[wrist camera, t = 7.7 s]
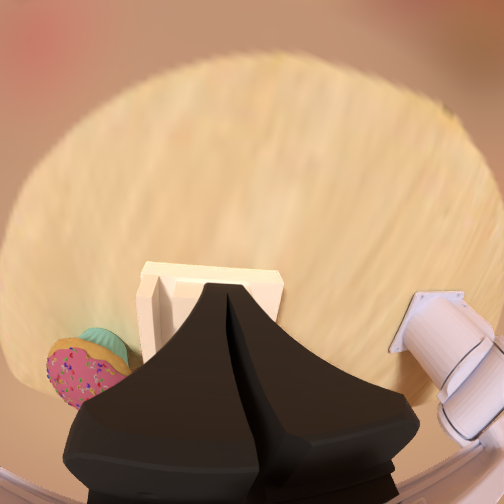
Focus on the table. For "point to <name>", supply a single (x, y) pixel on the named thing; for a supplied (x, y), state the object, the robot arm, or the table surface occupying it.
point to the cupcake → (87, 365)
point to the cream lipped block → (192, 296)
